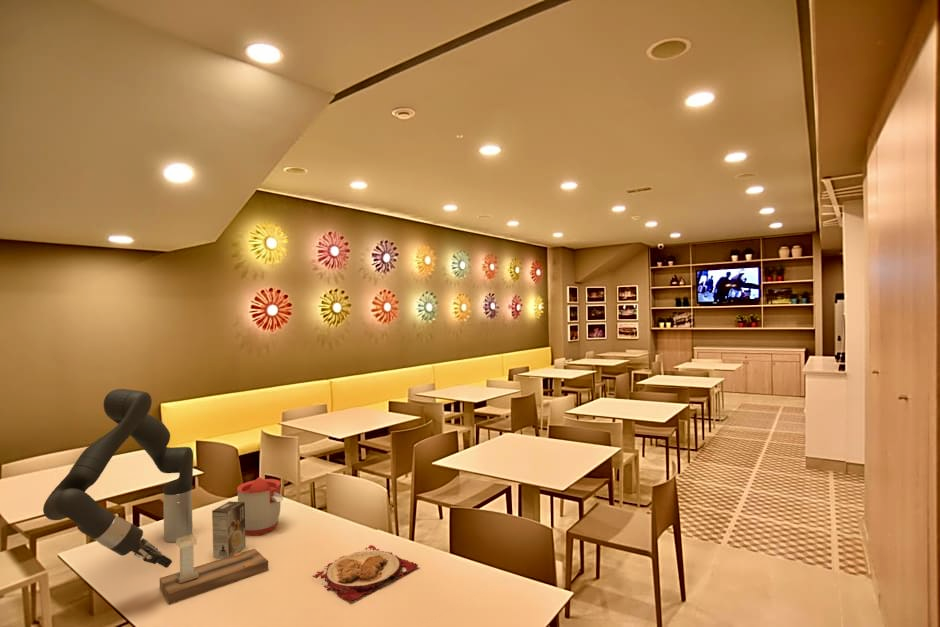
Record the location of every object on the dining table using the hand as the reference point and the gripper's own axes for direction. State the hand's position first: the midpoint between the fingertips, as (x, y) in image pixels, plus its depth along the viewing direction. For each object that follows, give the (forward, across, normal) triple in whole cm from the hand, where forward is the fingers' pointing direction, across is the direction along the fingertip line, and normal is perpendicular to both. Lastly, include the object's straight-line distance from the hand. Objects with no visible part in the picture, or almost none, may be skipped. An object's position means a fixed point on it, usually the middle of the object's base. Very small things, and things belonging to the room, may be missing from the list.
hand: (169, 563), depth 150 cm
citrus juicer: (+32, +27, -19) cm, 46 cm away
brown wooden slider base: (+15, 0, -3) cm, 15 cm away
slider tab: (+7, 0, +1) cm, 7 cm away
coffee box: (+22, +16, -9) cm, 28 cm away
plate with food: (+41, -28, -27) cm, 56 cm away
